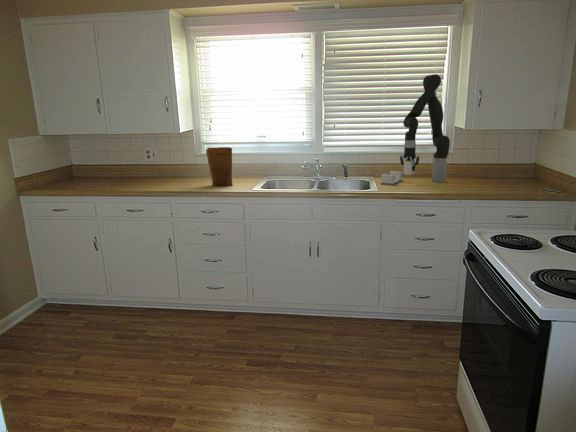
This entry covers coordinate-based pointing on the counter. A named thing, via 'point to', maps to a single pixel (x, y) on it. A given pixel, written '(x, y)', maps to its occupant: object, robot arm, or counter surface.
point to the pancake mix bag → (220, 165)
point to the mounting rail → (392, 178)
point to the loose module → (408, 168)
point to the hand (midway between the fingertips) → (409, 170)
